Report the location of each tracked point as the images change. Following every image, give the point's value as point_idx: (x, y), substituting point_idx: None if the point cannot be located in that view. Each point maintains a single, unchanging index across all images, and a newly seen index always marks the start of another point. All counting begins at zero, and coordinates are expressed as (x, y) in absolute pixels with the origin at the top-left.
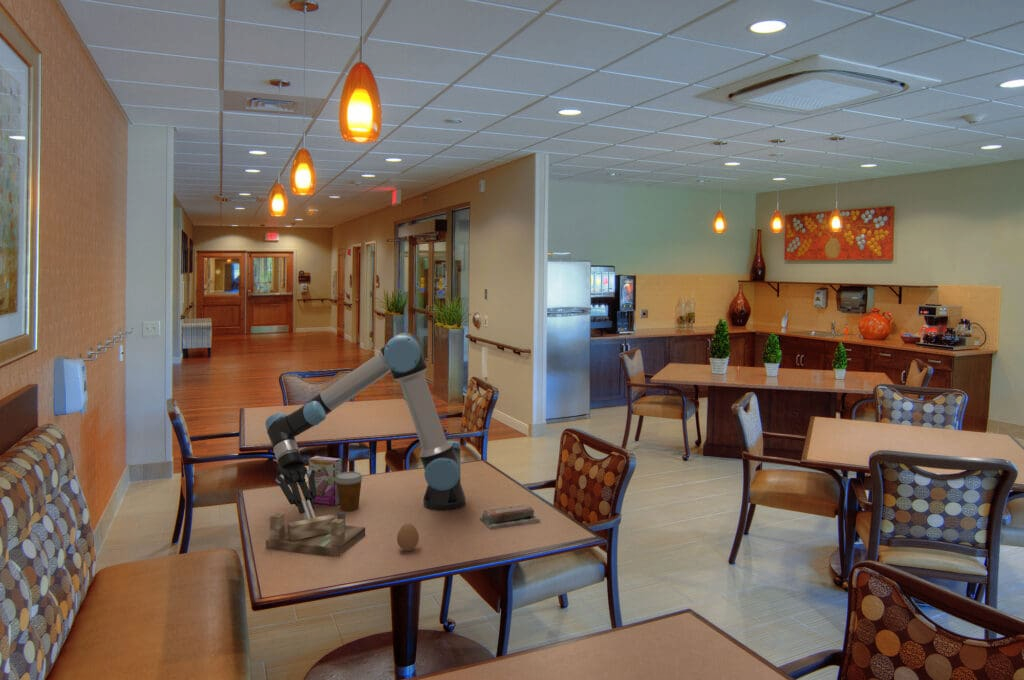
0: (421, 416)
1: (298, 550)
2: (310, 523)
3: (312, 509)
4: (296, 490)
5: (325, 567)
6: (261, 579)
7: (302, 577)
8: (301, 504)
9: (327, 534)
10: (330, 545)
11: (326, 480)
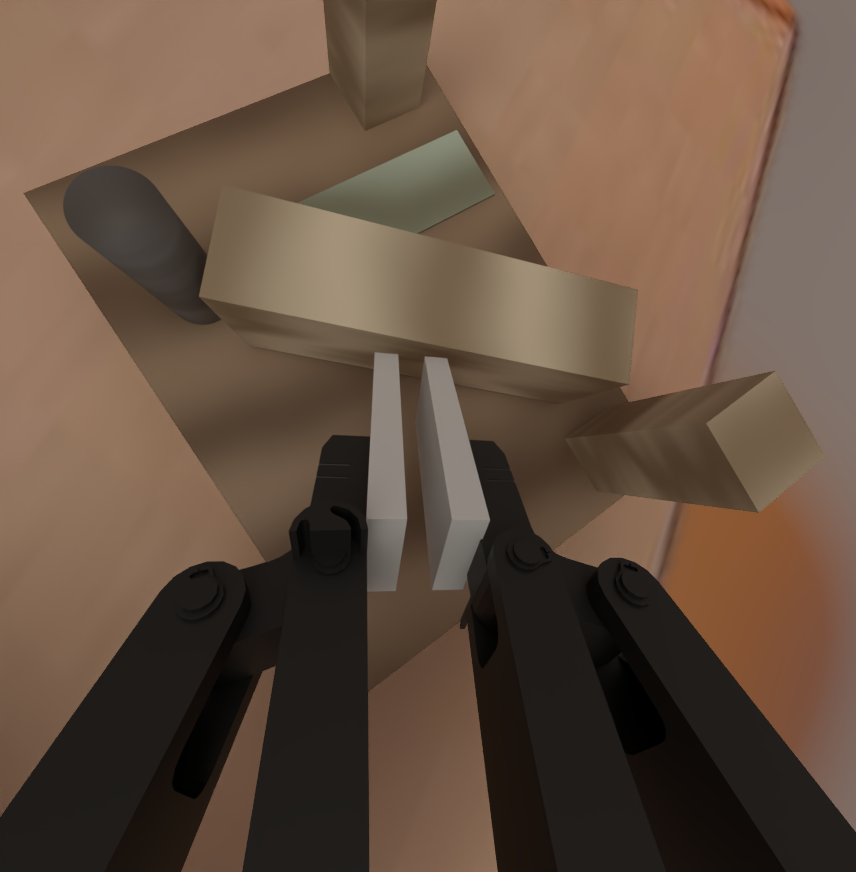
0: None
1: None
2: (481, 256)
3: (376, 408)
4: (620, 830)
5: (512, 45)
6: (752, 160)
7: (630, 44)
8: (489, 512)
9: None
10: (419, 113)
11: None
